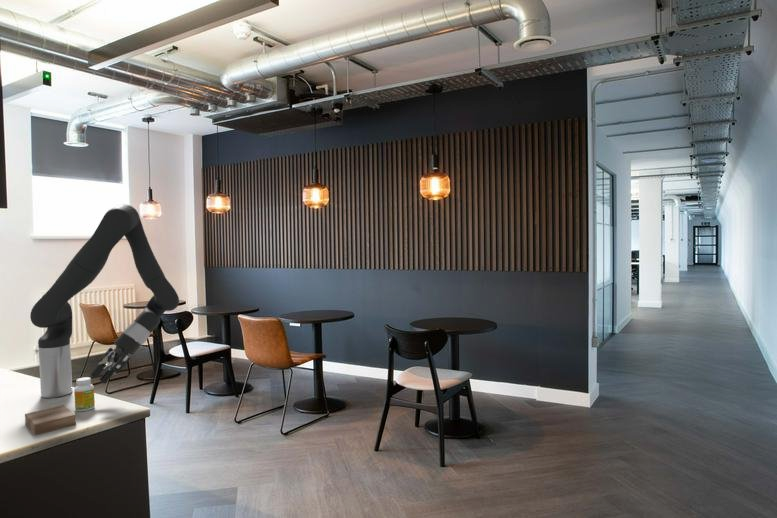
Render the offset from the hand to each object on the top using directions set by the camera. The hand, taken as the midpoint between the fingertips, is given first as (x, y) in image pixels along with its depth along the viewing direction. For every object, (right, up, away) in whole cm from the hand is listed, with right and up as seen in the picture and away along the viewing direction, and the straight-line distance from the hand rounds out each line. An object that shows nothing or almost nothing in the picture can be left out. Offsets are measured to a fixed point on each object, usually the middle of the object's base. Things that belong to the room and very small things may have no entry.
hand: (97, 379), depth 164 cm
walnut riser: (-5, -10, -15) cm, 19 cm away
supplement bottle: (-3, -9, -2) cm, 10 cm away
